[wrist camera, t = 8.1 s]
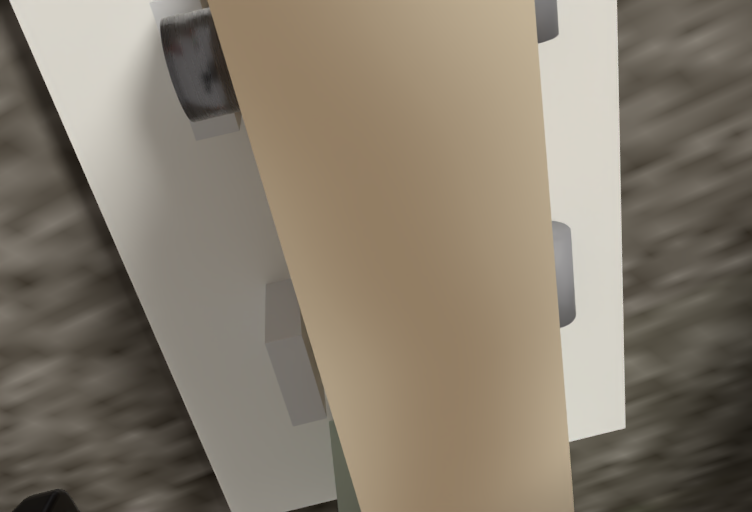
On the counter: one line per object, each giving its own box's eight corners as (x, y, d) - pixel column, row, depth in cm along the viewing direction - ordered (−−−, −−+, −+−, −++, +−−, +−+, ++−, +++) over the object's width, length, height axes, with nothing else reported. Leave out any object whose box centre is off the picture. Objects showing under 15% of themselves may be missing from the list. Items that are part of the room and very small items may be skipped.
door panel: (384, -144, 13) (520, -185, 6) (466, 357, 19) (583, 638, 12) (175, -97, 13) (56, -82, 6) (323, 392, 19) (354, 696, 12)
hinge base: (577, -452, 12) (1326, -1287, 4) (608, 402, 22) (827, 734, 13) (-97, -308, 12) (-1081, -837, 3) (238, 493, 21) (216, 892, 13)
